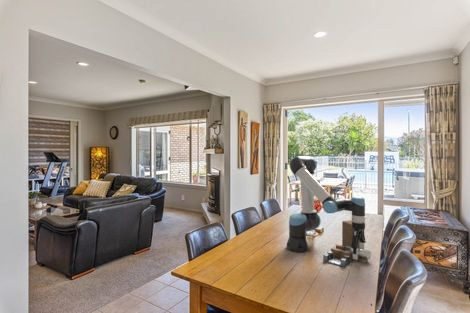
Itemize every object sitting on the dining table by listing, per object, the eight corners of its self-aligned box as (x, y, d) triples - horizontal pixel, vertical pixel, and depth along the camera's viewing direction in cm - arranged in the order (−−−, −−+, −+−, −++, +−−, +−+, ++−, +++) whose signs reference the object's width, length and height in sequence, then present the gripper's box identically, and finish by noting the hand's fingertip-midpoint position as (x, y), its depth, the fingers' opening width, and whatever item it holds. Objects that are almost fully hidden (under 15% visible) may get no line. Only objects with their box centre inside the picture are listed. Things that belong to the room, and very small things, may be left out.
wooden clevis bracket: (330, 256, 171) (330, 248, 171) (337, 251, 179) (337, 244, 179) (365, 265, 157) (365, 256, 157) (370, 259, 165) (370, 251, 165)
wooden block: (351, 255, 173) (352, 224, 173) (341, 249, 183) (342, 220, 183) (364, 253, 176) (364, 223, 176) (354, 248, 185) (354, 219, 185)
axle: (344, 253, 168) (345, 245, 169) (347, 253, 172) (347, 245, 173) (368, 259, 159) (369, 251, 160) (370, 259, 162) (371, 250, 163)
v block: (323, 261, 163) (323, 254, 163) (328, 257, 169) (328, 250, 169) (344, 267, 154) (344, 260, 154) (349, 262, 161) (350, 256, 161)
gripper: (358, 227, 153) (358, 263, 153) (370, 219, 172) (370, 251, 172) (345, 224, 158) (345, 260, 158) (358, 217, 176) (358, 249, 176)
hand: (358, 255), depth 165 cm, fingers open, 13 cm apart
